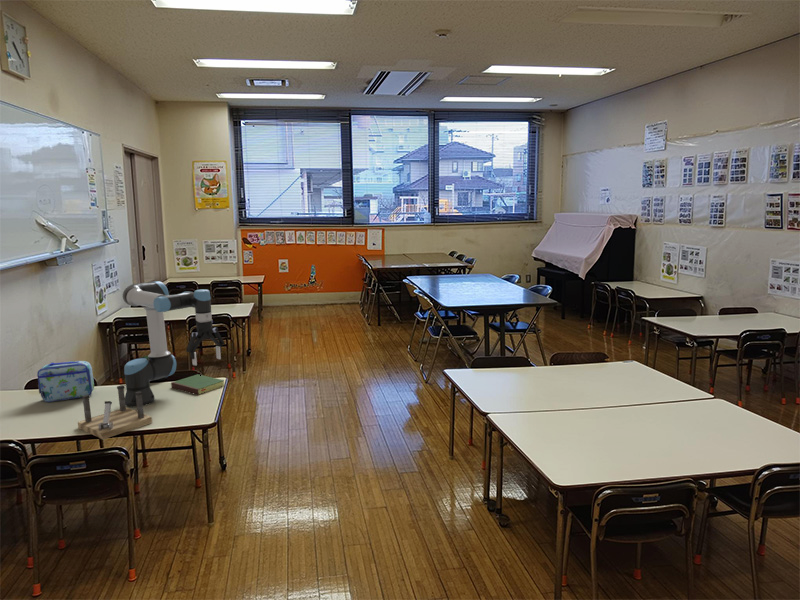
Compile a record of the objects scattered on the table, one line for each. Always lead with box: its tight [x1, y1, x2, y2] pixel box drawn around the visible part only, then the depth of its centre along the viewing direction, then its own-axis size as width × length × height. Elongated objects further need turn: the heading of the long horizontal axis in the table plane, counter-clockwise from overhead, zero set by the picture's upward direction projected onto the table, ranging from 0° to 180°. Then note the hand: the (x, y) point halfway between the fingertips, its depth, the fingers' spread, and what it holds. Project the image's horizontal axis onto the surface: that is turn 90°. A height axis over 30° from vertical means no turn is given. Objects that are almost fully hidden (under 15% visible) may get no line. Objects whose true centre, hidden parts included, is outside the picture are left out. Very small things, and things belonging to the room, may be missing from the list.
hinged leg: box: [102, 400, 112, 429], centre depth 260 cm, size 13×3×2 cm
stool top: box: [77, 384, 153, 440], centre depth 269 cm, size 24×24×16 cm
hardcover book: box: [170, 373, 225, 396], centre depth 326 cm, size 25×19×4 cm
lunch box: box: [36, 360, 95, 403], centre depth 309 cm, size 26×11×21 cm, turn 108°
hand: (207, 361), depth 279 cm, fingers open, 13 cm apart
